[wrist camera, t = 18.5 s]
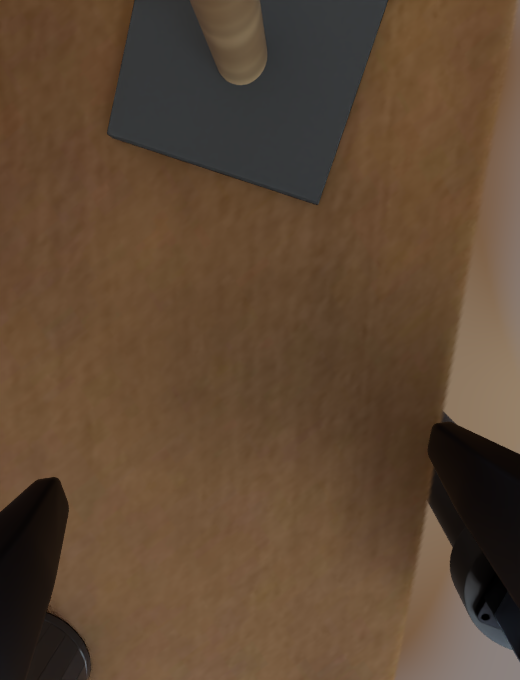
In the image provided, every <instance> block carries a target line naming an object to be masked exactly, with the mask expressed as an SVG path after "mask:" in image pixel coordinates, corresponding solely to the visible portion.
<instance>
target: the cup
mask: <svg viewBox="0 0 520 680" xmlns="http://www.w3.org/2000/svg"><path fill="white" fill-rule="evenodd" d="M90 670H91V663H90V657H89V653H88V651H87V648H86V646H85V644H84V642H83V641H82V639H81V638H80V637H79V635H78V634H77V633H76V632H75V631H74V630H73V629H72V628H71V627H70V626H69V625H68V624H66V623H65V622H63V621H62V620H60V619H59V618H57V617H55V616H53V615H51V614H48V613H46V615H45V618H44V621H43V625H42V628H41V631H40V634H39V638H38V641H37V644H36V648H35V651H34V654H33V658H32V661H31V664H30V667H29V671H28V674H27V677H26V680H88V679H89V676H90Z"/></svg>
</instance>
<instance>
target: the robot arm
mask: <svg viewBox="0 0 520 680" xmlns="http://www.w3.org/2000/svg"><path fill="white" fill-rule="evenodd" d="M428 455H429V458H430V460H431V462H432V464H433V466H434V468H435V470H436V472H437V474H438V476H439V478H440V480H441V482H442V484H443V485H444V487H445V489H446V491H447V493H448V495H449V497H450V499H451V501H452V503H453V505H454V507H455V508H456V510H457V512H458V514H459V515H460V517H461V519H462V520H463V522H464V524H465V525H466V527H467V528H468V530H469V531H470V533H471V535H472V536H473V538H474V539H475V541H476V542H477V544H478V545H479V547H480V549H481V550H482V552H483V553H484V555H485V556H486V558H487V559H488V561H489V563H490V564H491V566H492V567H493V569H494V570H495V572H496V573H495V575H494V577H493V578H492V580H491V582H490V584H489V585H488V587H487V589H486V591H485V592H484V594H483V596H482V598H481V599H480V601H479V603H478V605H477V606H476V608H475V611H474V612H475V615H476V617H477V619H478V620H479V622H481V623H483V624H486V625H489V626H492V627H494V628H497V629H500V630H502V631H503V633H504V635H505V637H506V638H507V640H508V642H509V644H510V645H511V647H512V649H513V651H514V653H515V654H516V656H517V658H518V660H519V661H520V454H518V453H516V452H514V451H511V450H509V449H507V448H505V447H503V446H501V445H499V444H497V443H495V442H492V441H490V440H488V439H486V438H484V437H482V436H480V435H477V434H475V433H473V432H471V431H469V430H467V429H465V428H462V427H460V426H458V425H456V424H454V423H452V422H443V423H436V424H434V425H433V427H432V430H431V434H430V439H429V444H428ZM68 512H69V505H68V501H67V498H66V496H65V493H64V490H63V488H62V485H61V482H60V480H59V479H58V478H56V477H51V478H44V479H39V480H36V481H35V482H34V483H32V484H31V485H30V486H29V487H28V488H27V489H26V490H25V491H23V492H22V493H21V494H20V495H19V496H18V497H17V498H16V499H14V500H13V501H12V502H11V503H10V504H9V505H8V506H7V507H5V508H4V509H3V510H2V511H1V512H0V680H26V677H27V674H28V671H29V667H30V664H31V661H32V658H33V654H34V651H35V648H36V644H37V641H38V638H39V634H40V631H41V628H42V625H43V621H44V618H45V615H46V611H47V608H48V605H49V602H50V598H51V595H52V591H53V588H54V584H55V579H56V575H57V570H58V565H59V559H60V554H61V549H62V544H63V539H64V534H65V528H66V523H67V518H68ZM483 614H484V615H483Z"/></svg>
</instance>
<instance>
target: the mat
mask: <svg viewBox="0 0 520 680" xmlns="http://www.w3.org/2000/svg"><path fill="white" fill-rule="evenodd" d="M387 2H388V0H260V4H261V11H262V18H263V25H264V32H265V38H266V45H267V62H266V65H265V68H264V70H263V72H262V73H261V75H260V76H259V77H258V78H257V79H256V80H254V81H253V82H251V83H249V84H246V85H235V84H232V83H230V82H228V81H227V80H225V79H224V78H223V77H222V76H221V74H220V73H219V71H218V68H217V66H216V64H215V61H214V59H213V56H212V54H211V51H210V49H209V46H208V44H207V42H206V39H205V37H204V34H203V32H202V29H201V27H200V24H199V22H198V20H197V17H196V15H195V12H194V10H193V7H192V5H191V3H190V0H135V1H134V6H133V11H132V16H131V21H130V25H129V30H128V35H127V40H126V45H125V49H124V54H123V59H122V64H121V69H120V73H119V78H118V83H117V88H116V93H115V97H114V102H113V107H112V112H111V117H110V121H109V126H108V131H107V134H108V135H109V136H111V137H112V138H114V139H117V140H121V141H124V142H127V143H130V144H133V145H136V146H139V147H142V148H145V149H148V150H151V151H154V152H157V153H160V154H163V155H166V156H169V157H172V158H175V159H178V160H181V161H185V162H188V163H191V164H194V165H197V166H200V167H203V168H206V169H209V170H212V171H215V172H218V173H221V174H224V175H227V176H230V177H233V178H236V179H239V180H242V181H245V182H249V183H252V184H255V185H258V186H261V187H264V188H267V189H270V190H273V191H276V192H279V193H282V194H285V195H288V196H291V197H294V198H297V199H300V200H303V201H306V202H309V203H313V204H316V205H318V204H319V201H320V198H321V195H322V192H323V189H324V186H325V183H326V180H327V177H328V174H329V172H330V169H331V166H332V163H333V160H334V157H335V154H336V151H337V148H338V145H339V142H340V139H341V136H342V134H343V131H344V128H345V125H346V122H347V119H348V116H349V113H350V110H351V107H352V104H353V101H354V99H355V96H356V93H357V90H358V87H359V84H360V81H361V78H362V75H363V72H364V69H365V66H366V63H367V61H368V58H369V55H370V52H371V49H372V46H373V43H374V40H375V37H376V34H377V31H378V28H379V25H380V23H381V20H382V17H383V14H384V11H385V8H386V5H387Z"/></svg>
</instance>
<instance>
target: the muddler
mask: <svg viewBox="0 0 520 680" xmlns="http://www.w3.org/2000/svg"><path fill="white" fill-rule="evenodd" d="M190 3H191V5H192V7H193V10H194V12H195V15H196V17H197V20H198V22H199V24H200V27H201V29H202V32H203V34H204V37H205V39H206V42H207V44H208V46H209V49H210V51H211V54H212V56H213V59H214V61H215V64H216V66H217V68H218V71H219V73H220V74H221V76H222V77H223V78H224V79H225V80H227V81H228V82H230V83H232V84H235V85H246V84H249V83H251V82H253V81H254V80H256V79H257V78H258V77H259V76H260V75H261V73H262V72H263V70H264V68H265V65H266V62H267V45H266V38H265V32H264V25H263V18H262V11H261V4H260V0H190Z"/></svg>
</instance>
